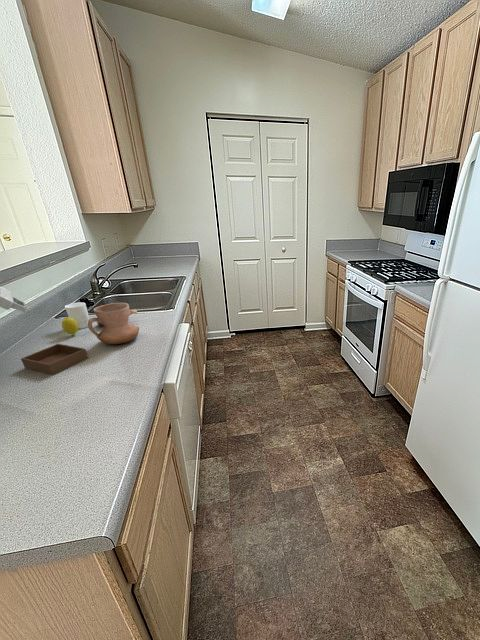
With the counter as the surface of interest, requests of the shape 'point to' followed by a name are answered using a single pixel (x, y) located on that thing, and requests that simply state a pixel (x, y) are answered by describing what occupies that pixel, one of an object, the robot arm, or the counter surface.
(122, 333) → the ceramic jug
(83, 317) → the white cup
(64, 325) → the lemon
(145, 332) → the counter surface
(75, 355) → the tray
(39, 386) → the counter surface
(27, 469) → the counter surface
